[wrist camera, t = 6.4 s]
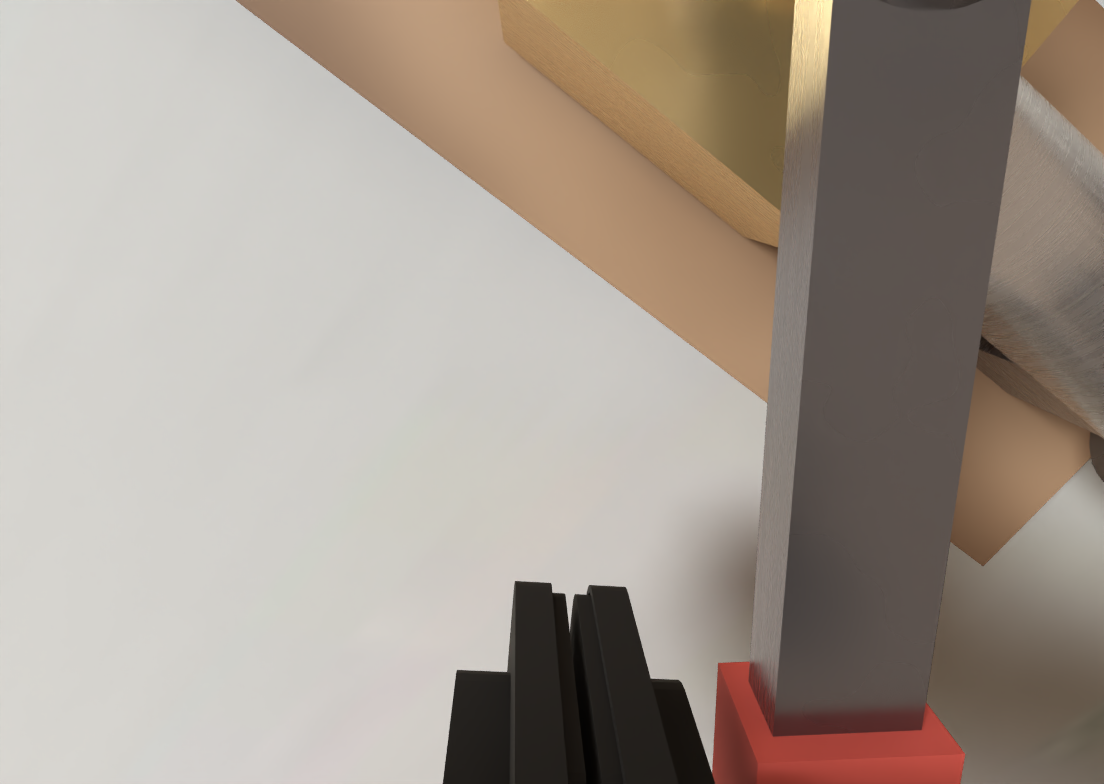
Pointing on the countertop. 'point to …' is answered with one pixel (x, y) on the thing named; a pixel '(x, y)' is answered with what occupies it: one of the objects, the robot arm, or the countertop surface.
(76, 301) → the countertop surface
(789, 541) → the valve lever
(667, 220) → the valve board
